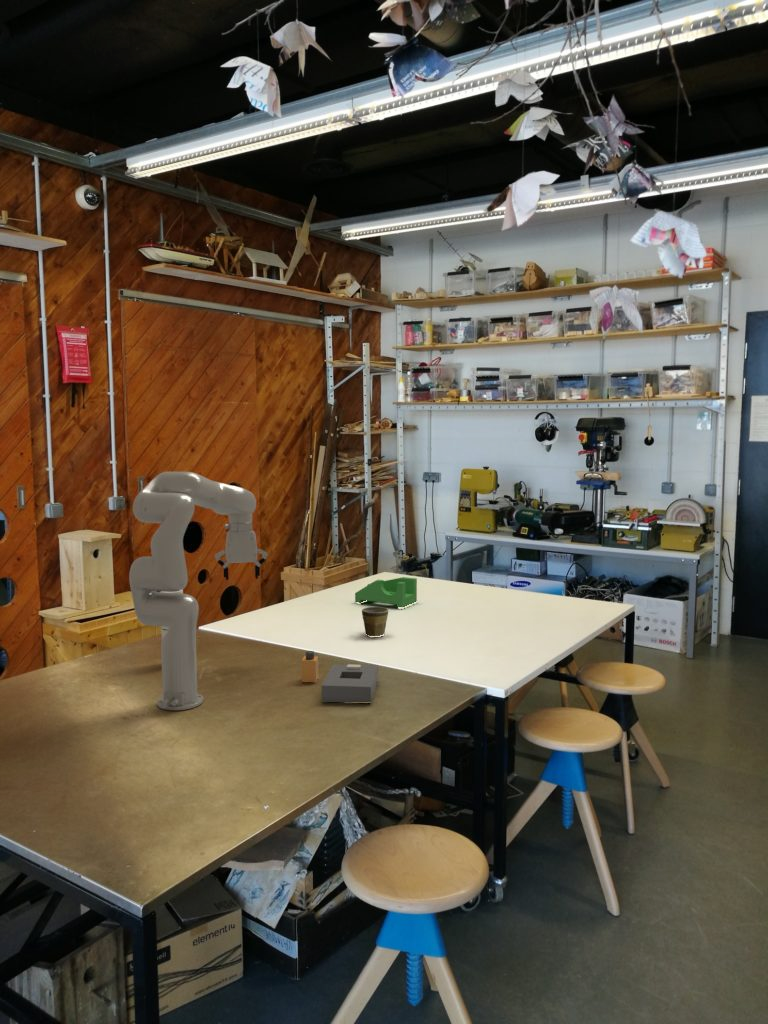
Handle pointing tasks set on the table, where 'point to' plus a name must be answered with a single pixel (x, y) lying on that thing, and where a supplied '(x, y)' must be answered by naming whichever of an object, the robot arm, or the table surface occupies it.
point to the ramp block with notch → (390, 591)
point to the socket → (350, 683)
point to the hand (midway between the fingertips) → (241, 578)
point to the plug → (309, 667)
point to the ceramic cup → (375, 620)
